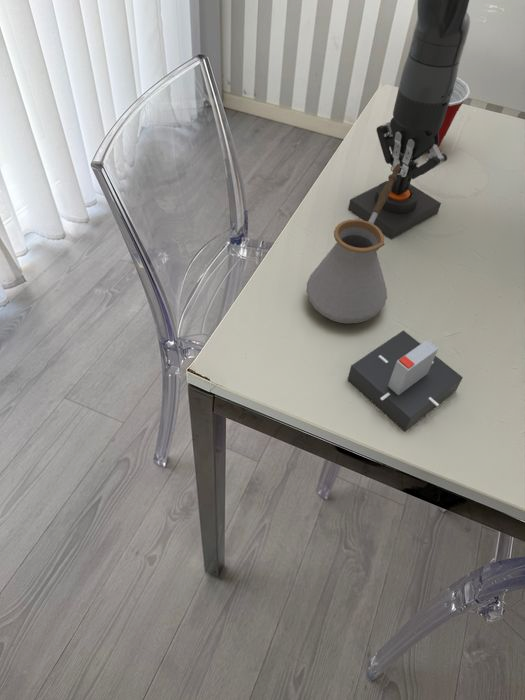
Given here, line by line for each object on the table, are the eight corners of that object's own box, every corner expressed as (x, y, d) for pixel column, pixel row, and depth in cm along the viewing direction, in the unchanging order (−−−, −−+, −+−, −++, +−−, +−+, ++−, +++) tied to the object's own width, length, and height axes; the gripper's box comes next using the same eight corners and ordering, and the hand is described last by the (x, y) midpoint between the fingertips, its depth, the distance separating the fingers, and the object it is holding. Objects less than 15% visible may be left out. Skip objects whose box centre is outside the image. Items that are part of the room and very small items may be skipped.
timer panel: (398, 344, 78) (403, 329, 76) (461, 395, 73) (469, 380, 71) (342, 382, 74) (346, 367, 71) (405, 440, 68) (411, 426, 66)
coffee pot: (366, 345, 78) (390, 262, 66) (291, 315, 81) (301, 230, 69) (413, 256, 90) (440, 173, 79) (346, 233, 93) (363, 150, 82)
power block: (394, 186, 103) (399, 166, 100) (437, 213, 98) (444, 194, 95) (347, 210, 98) (351, 190, 94) (390, 240, 93) (396, 220, 90)
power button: (395, 190, 98) (397, 181, 96) (412, 201, 96) (415, 193, 94) (379, 198, 96) (381, 189, 95) (396, 210, 94) (399, 201, 93)
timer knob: (416, 365, 72) (427, 338, 68) (427, 373, 71) (439, 347, 67) (387, 386, 70) (397, 359, 66) (398, 395, 69) (408, 369, 65)
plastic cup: (386, 148, 111) (400, 87, 102) (409, 126, 117) (425, 66, 108) (437, 167, 107) (456, 106, 98) (459, 144, 113) (479, 84, 104)
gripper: (374, 77, 83) (353, 181, 96) (445, 115, 76) (413, 220, 90) (407, 65, 86) (383, 166, 99) (478, 100, 80) (443, 203, 93)
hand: (397, 191), depth 94 cm, fingers closed
